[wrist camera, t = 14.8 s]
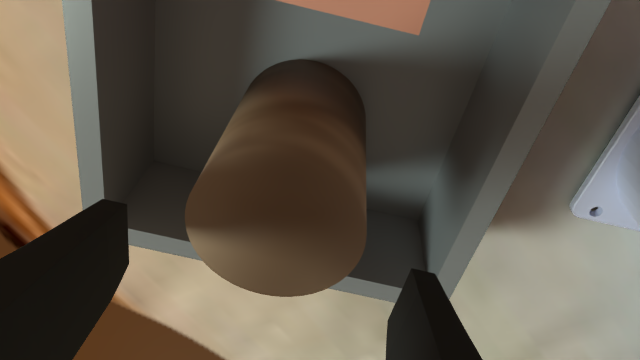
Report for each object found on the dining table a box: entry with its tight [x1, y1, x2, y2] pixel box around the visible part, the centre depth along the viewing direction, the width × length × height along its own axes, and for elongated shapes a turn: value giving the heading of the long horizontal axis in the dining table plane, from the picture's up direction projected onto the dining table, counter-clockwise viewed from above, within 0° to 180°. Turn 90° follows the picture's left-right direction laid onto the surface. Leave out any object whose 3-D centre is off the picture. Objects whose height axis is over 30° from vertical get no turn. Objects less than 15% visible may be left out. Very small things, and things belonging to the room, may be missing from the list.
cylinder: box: [185, 59, 367, 297], centre depth 16 cm, size 5×5×7 cm
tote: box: [62, 0, 611, 303], centre depth 14 cm, size 14×18×5 cm
